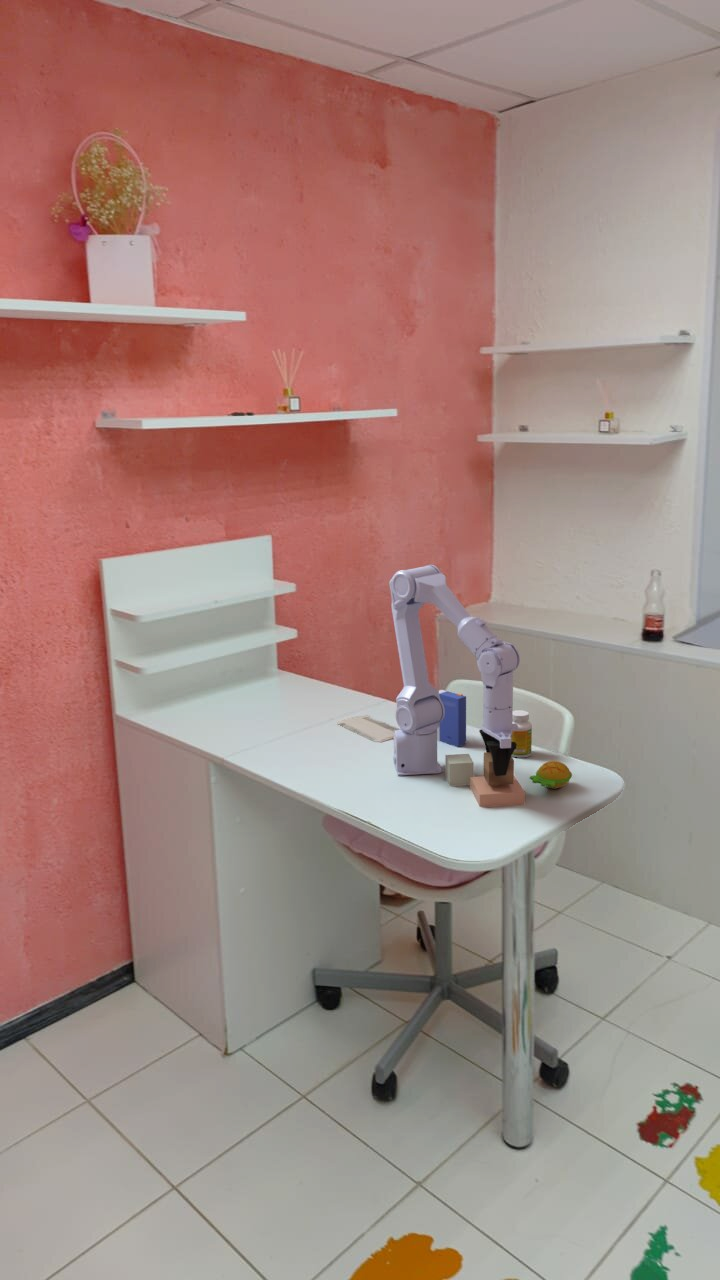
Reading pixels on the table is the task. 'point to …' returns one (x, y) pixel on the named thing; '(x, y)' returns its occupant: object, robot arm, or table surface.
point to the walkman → (453, 719)
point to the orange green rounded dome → (552, 775)
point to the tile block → (496, 793)
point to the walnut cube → (490, 775)
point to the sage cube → (458, 769)
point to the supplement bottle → (522, 734)
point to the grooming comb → (369, 728)
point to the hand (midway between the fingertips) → (497, 769)
